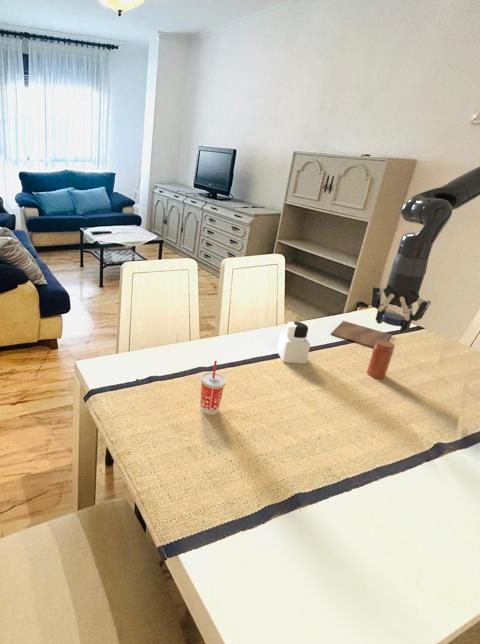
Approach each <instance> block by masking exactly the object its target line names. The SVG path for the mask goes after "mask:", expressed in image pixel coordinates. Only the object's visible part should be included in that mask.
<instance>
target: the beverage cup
mask: <svg viewBox="0 0 480 644" xmlns="http://www.w3.org/2000/svg"><path fill="white" fill-rule="evenodd" d="M217 363H218V362H217V360H214V364H213V371H207V372H203V373H202V374H201V375H200V383H201V384H200V399H199V400H200V402H199V409H200V411H201V412H202V413H204V414H205V415H210V416H215V415H216V414H218V413H219V410H220V406H221V401H222V397H223V392H224V388H225V386H226V382H227V379H226V378H225V376H224V375H222V374H220V373H218V372H216V370H217Z"/></svg>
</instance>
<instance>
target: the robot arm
mask: <svg viewBox="0 0 480 644" xmlns="http://www.w3.org/2000/svg"><path fill="white" fill-rule="evenodd" d="M478 197H480V166H478V167H476V168H474V169H471V170H469V171H467V172H465V173H463V174H461V175H459V176H457V177H455V178H454V179H452V180H450V181H449V182H446V183H445V184H443V185H442V186H439V187H435V188H431V189H429V190H425V191H423V192H420V193H417V194H414V195H413V196H411V197H409V198H408V199H407V200H406V201H404V203H403V205H402V207H401V210H400V214H401V217H402V219H403V220H404V221H405V222H408V223H411V224H417V225H422V227H421V228H420V230H418V232H417V231H416V232H415V231H414V232H411V231H410V232H406V233H404V234H403V235H401V239H400V242H399V246H398V249H397V253H396V255H395V257H394V260H393V263H392V266H391V269H390V272H389V276H388V280H387V283H386V286H385V287H382V286H379V285H378V286H375V287H373V288H372V295H371V307H372V308H374V309H376V310H377V313H376V317H375V321H376V324H378V325H380V324H382V323H384V322H383V321H382V320H381V317H382V314H383V313H384V312H387V311H386V310H387V309H388V308H389V307H390V306H396V307H398V308H401V311H402V313H403V316H404V317H405V319H404V320H403V322H402V326H400V329H399V332H401V333H405V332H407V331H408V330H409V329H410V327H411V325H412V322H413V321H414V322H417V321H419V320H421V319H422V318H423V317H424V315H425V313H426V312H427V310H428V308H429V307H430V305H431V304H432V303H431V301H430V300H425V299H423V298H421V297H420V290H421V288H422V284H423V281H424V278H425V275H426V274H427V270H428V269H427V268H428V266H429V258H430V255H431V252H432V250H433V246H434V244H435V242H436V240H437V239H438V237H439V235H440V234H441V232H442V231H443V230H444V228H445V227H446V226H447V224H448V223H449V221H450V220H451V217H452V215H453V211H454V210H457V209H460V208H461V207H463V206H465V205H467V204H468V203H470V202H472V201H473V200H475V199H477V198H478ZM383 294H384V296H385V300H383V301H382V299H381V298H382V295H383ZM381 301H382V303H381ZM416 302H417V307H418V308H417V310H416V312H415V314H414V306H413V304H414V303H416Z"/></svg>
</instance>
